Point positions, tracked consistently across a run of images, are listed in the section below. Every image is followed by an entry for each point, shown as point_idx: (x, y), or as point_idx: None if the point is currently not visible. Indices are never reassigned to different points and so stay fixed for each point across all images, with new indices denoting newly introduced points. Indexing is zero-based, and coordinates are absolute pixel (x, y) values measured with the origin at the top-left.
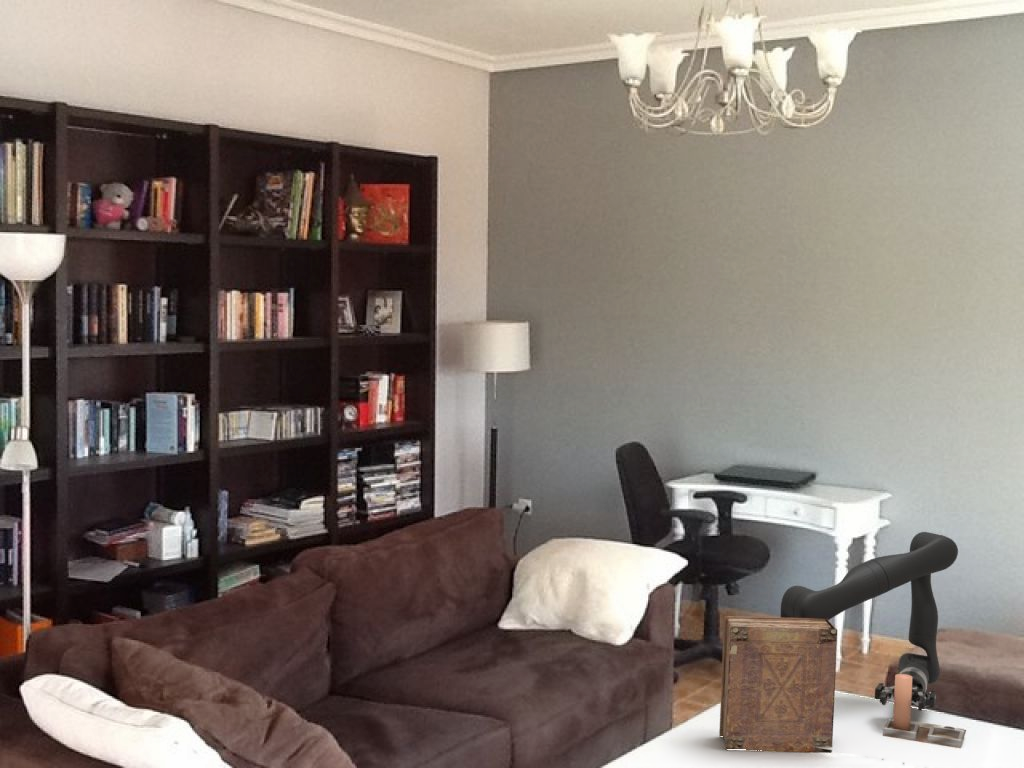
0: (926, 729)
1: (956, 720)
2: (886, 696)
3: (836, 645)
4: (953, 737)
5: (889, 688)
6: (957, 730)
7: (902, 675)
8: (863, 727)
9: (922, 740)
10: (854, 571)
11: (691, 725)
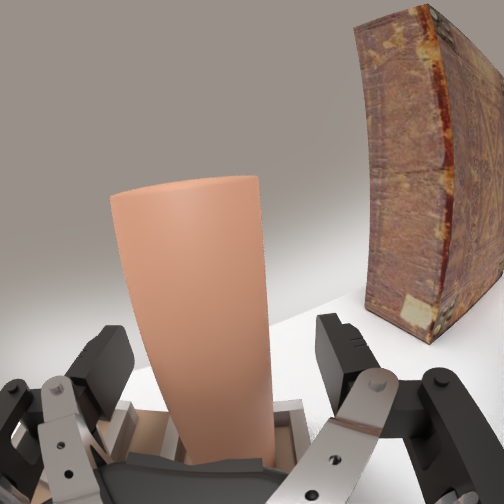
0: None
1: None
2: (331, 362)
3: (359, 59)
4: (44, 468)
5: (365, 428)
6: None
7: (193, 184)
8: (418, 498)
9: (154, 424)
10: None
11: None
